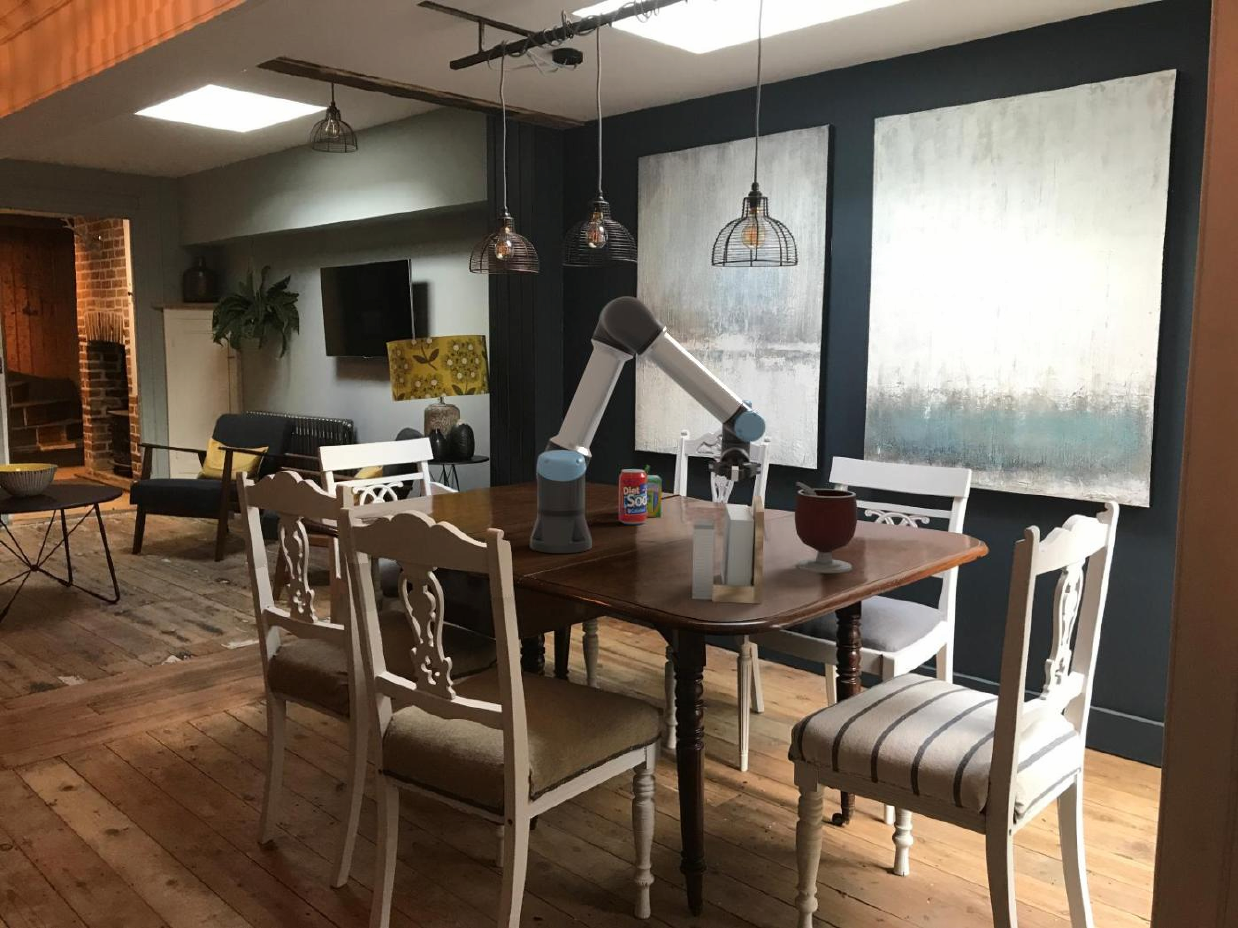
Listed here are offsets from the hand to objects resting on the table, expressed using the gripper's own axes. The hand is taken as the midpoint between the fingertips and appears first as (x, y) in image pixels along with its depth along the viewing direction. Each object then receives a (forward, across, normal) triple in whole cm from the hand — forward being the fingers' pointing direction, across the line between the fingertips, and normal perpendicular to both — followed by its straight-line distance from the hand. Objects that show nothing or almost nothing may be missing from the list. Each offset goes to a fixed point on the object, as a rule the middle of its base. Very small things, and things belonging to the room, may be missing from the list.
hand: (734, 475), depth 228 cm
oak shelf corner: (+25, -1, -21) cm, 32 cm away
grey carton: (+30, +5, -21) cm, 37 cm away
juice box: (-63, +26, -21) cm, 71 cm away
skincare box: (+22, -1, -21) cm, 30 cm away
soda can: (-49, +28, -21) cm, 60 cm away
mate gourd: (+1, -20, -20) cm, 29 cm away
